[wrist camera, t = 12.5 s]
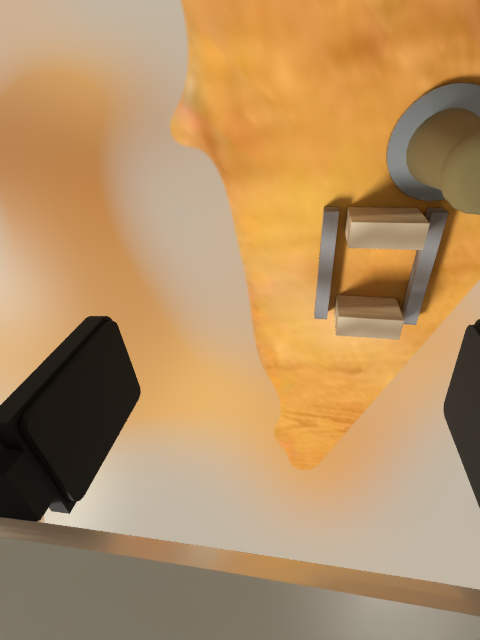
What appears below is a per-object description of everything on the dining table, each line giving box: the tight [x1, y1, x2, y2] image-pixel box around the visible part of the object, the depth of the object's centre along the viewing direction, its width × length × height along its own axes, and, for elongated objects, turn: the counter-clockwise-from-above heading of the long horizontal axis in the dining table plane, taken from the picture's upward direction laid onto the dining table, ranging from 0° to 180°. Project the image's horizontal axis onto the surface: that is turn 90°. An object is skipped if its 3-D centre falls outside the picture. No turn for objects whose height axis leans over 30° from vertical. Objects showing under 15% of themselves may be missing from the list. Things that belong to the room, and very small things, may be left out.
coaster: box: [386, 83, 480, 201], centre depth 30 cm, size 9×9×1 cm
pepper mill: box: [406, 108, 480, 215], centre depth 25 cm, size 6×6×11 cm
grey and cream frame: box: [315, 207, 448, 340], centre depth 35 cm, size 12×11×4 cm
